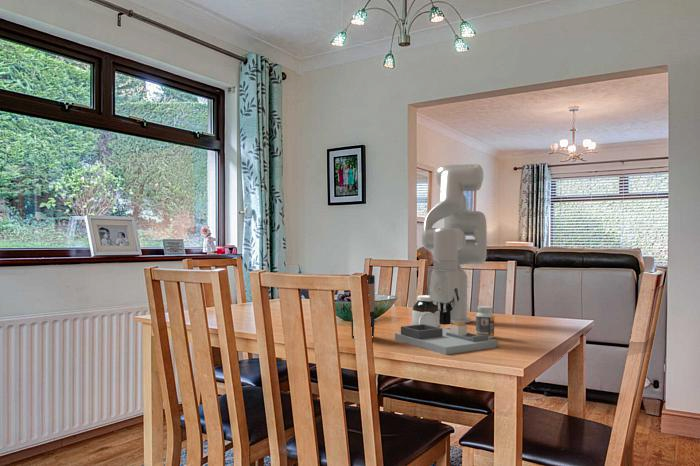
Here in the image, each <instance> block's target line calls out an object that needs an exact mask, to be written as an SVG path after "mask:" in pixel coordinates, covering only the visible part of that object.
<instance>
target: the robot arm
mask: <svg viewBox="0 0 700 466" xmlns="http://www.w3.org/2000/svg"><path fill="white" fill-rule="evenodd" d="M436 180H437V184H438V186H439V188H438V200H437V203H436V204H435V205H434V206H433V207H432V208H431V209H430V210H429V211H428V212H427V214H426V216H425V217H424V219H423V223H422V233H421V244H422V247H423V248H424V250H426V251H433V264H432V265H433V270H432V271H431V274H430V280H429V281H430V282H429V294H428V295H429V297H430V300H431V301H433V304H435V305H437V307H438V311H440V324H441V326H442V325H443V326H444V325H451V324H453V323H458V322H461V323H466V324H469V323H471V322H472V318H470V317H468V275H467V273H466V270H464V269H463V267H462V266H461V265H482V264H485V262H486V260H487V254H488V253H487V252H488V251H487V245H488V244H487V241H488V240H487V239H488V237H487V233H488V232H487V229H488V228H487V218H486V215H485V214H484V212H482V211H478V210H477V211H476V210H475V211H474V210H469V211H468V210H467V197H466V196H465V194H464V192H474V191H479V190H481V188H482V185H483V181H484V171H483V167H482V166H481V165H480V164H475V163H473V164H470V163H469V164H448V165H447V164H446V165H442V166H440V167H438V168H437V170H436ZM441 220H443V227H433V226H434V225H435V224H436V223H437V222H439V221H441ZM466 236H467V237H472V238H473V239H472V238H470V239H469V238H468V239H467V237H466Z"/></svg>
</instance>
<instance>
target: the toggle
mask: <svg viewBox="0 0 700 466" xmlns="http://www.w3.org/2000/svg"><path fill="white" fill-rule="evenodd" d="M466 324H467V323H461V322H458V323H452V325H451V324H450V325H451V328H450V330H451V333H452V334H456V335H461V336H466V335H467V333H468V326H467V325H466Z"/></svg>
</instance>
